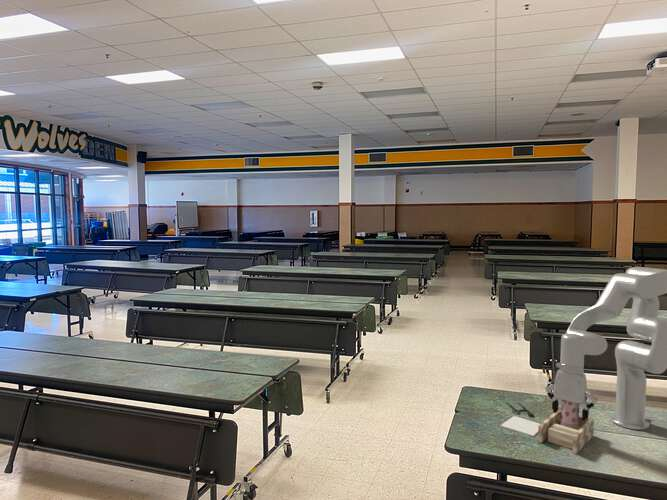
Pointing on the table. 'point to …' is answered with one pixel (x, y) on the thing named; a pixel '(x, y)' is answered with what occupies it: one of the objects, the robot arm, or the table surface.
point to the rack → (578, 438)
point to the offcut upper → (561, 432)
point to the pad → (521, 426)
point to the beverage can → (570, 414)
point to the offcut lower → (560, 442)
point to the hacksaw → (521, 410)
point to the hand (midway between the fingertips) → (569, 415)
